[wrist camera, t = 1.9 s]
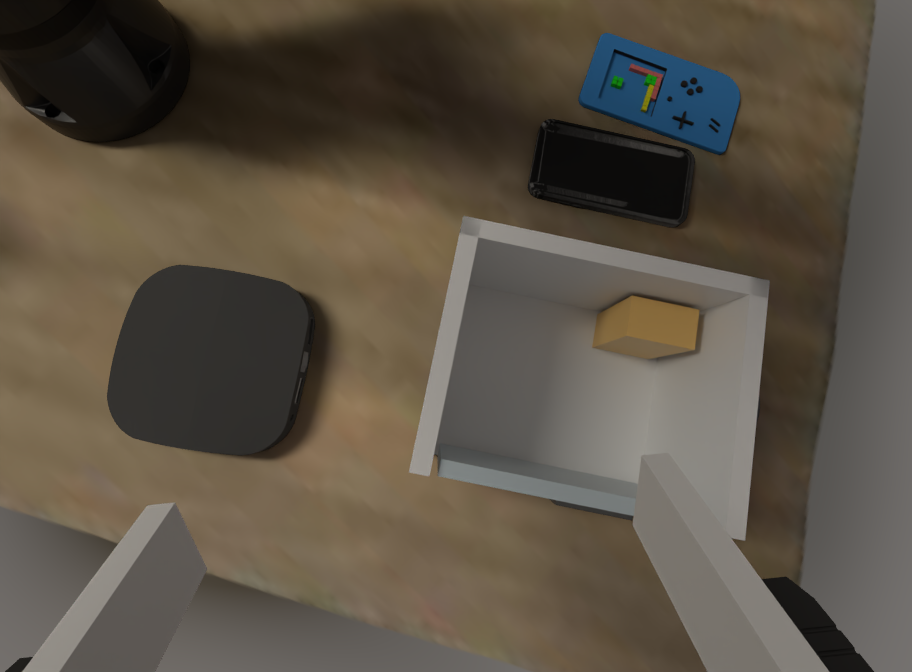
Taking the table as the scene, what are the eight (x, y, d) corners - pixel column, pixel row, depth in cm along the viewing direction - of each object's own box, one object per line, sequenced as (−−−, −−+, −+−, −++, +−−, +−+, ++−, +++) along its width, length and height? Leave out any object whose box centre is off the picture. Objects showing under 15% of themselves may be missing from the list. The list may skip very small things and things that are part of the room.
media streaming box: (161, 265, 39) (139, 254, 36) (325, 292, 39) (315, 284, 36) (116, 431, 37) (88, 434, 34) (289, 459, 37) (276, 464, 34)
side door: (631, 502, 36) (706, 541, 26) (435, 462, 36) (435, 486, 26) (634, 483, 36) (708, 513, 26) (440, 443, 36) (441, 458, 26)
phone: (542, 116, 41) (696, 150, 42) (539, 124, 43) (689, 157, 43) (527, 193, 40) (686, 227, 40) (524, 198, 41) (679, 232, 42)
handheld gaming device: (727, 151, 42) (578, 99, 42) (719, 158, 43) (575, 106, 43) (747, 78, 43) (603, 27, 43) (740, 87, 44) (599, 37, 44)
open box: (665, 500, 37) (771, 546, 26) (417, 449, 37) (408, 472, 25) (687, 320, 40) (794, 285, 28) (455, 271, 40) (463, 215, 28)
